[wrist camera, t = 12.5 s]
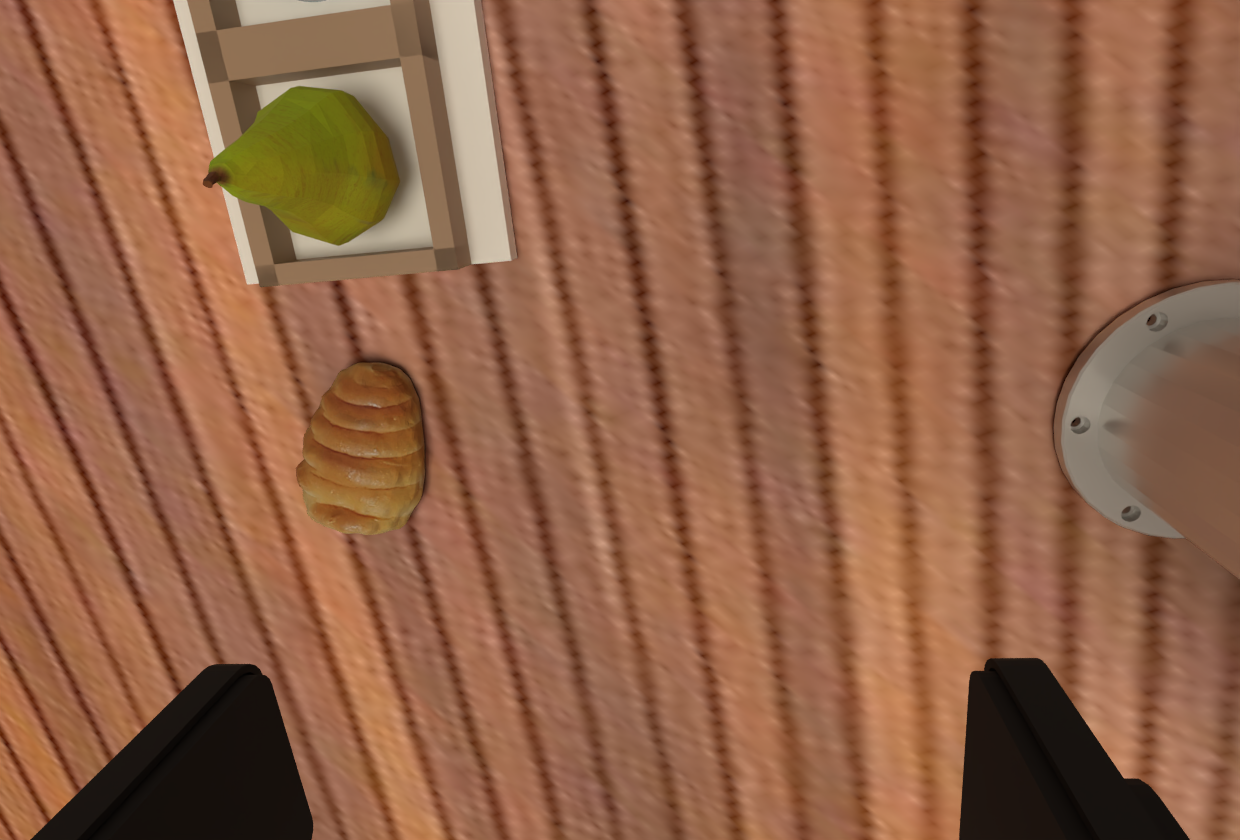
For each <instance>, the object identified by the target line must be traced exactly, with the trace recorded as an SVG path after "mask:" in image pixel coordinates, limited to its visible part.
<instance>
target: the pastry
mask: <svg viewBox="0 0 1240 840" xmlns="http://www.w3.org/2000/svg"><path fill="white" fill-rule="evenodd" d="M424 448H425V445H424V436H423V427H422V417H421V409H420V401H419V398H418V396H417V393H416V391H415V389H414V387H413V384H412V382H411V380H410V378H409V377H408V376H407V375H406V374H405V373H404V372H403V371H402V370H401V369H399V368H397V367H394V366H391V365H388V364H385V363H380V362H376V363H356V364H354V365H352V366H350V367H348V368H346V369H344V370H342V371H340V372H339V373H338V376H337V378H336V379H335V381H334V382H333V384H332V386H331V388H330V389H329V390H328V391H327V392H326V393H325V394H324V395H323V396H322V400H321V403H320V406H319V408H318V410H317V411H316V412H315V414H314V415H313V417H312V420H311V425H310V427H309V428H308V429H307V431H306V433H305V434H304V441H303V452H302V453H303V457H304V460H303V461H302V462H301V463H300V464H299V465H298V466H297V468H296V476H297V481H298V483H299V486H300V487H301V488H302V489H303V499H304V502H305V504H306V507H307V514H308V515H309V516H310V517H311V519H312V520H314V521H315V522H317V523H319V524H321V525H323V526H325V527H328V528H331V529H334V530H337V531H339V532H342V533H350V534H351V533H361V534H364V535H372V534H381V533H385V532H388V531H391V530H396V529H400V528H401V527H403V526H404V525H405V524H406V523H407V521H408V519H409V517H410V515H411V513H412V512H413V510H414V508H415V507H416V506H417V504H418V503H419V501H420V500H421V497H422V493H423V485H424V478H425V463H424V460H425V452H424Z"/></svg>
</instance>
